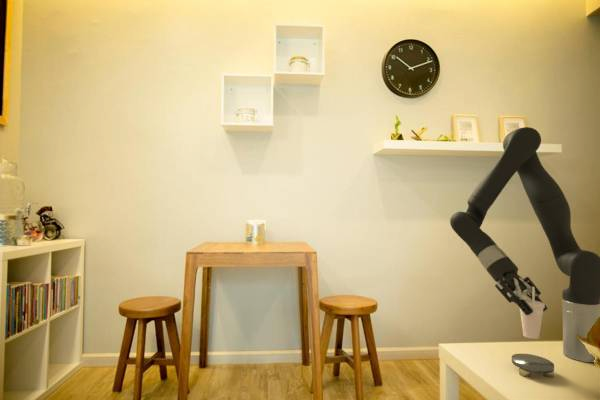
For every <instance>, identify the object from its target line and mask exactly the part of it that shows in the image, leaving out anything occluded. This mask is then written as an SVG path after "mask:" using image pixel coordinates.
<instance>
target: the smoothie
mask: <svg viewBox="0 0 600 400" xmlns="http://www.w3.org/2000/svg"><path fill="white" fill-rule="evenodd" d="M522 300H525V301H526V302H527V304H528V305H529V306H530V307H531V309H532V310H533V312H532V313H531V314H530V315H525V313H524V312H523V311H522V310H521V309H520V308H519V313H520V319H521V327H522V335H523V337H525V338H528V339H531V340H538V339H539V338H540V334H541V327H542V320H543V315H544V312H543V308H545V305H546V304H545V303H544V302H543V301H542V302H543V303H542V302H539V301H535V287H532V300H530V299H524V298H523V299H522Z"/></svg>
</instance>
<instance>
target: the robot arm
mask: <svg viewBox="0 0 600 400" xmlns="http://www.w3.org/2000/svg"><path fill="white" fill-rule="evenodd" d="M541 143H542V137H541V134H540V133H539V131H538V130H537V129H535V128H533V127H528V126H525V127H519V128H516V129H514V130H512V131H510V132H509V133H507V135H506V136H505V137H504V139H503V142H502V149H503V152H502V154H501V156H500V158H499V159H498V161H497V162H496V164H494V166H493V167H492V169H490V171H489V172H488V173H487V174H486V175H485V176H484V177H483V178H482V180H481V181H480V182H479V183H478V185H477V186H476V187H475V189H474V190H473V192H472V193H471V195H470V196H469V198H468V199H467V204H468V206H467V209H466V211H465V212H464V211H457V212H455V213H453V214H452V215H451V217H450V219H449V224H450V228H451V229H452V230H453V232H455V233H456V235H457V236H458V237H459V238H460V239H461V240H462V241H463V242H464V243H465V244H466V245H467V246H468V247H469V248H470V250H471V252H472V253H473V255H475V257H476V258H477V259H478V260H479V262H480V264H481V265H482V266H483V268H484V269H485V270H486V271H487V272H486V273H488V275H489V276H491V278H492V279H493V280H494V281H495V282H496V283H495V285H494V287H495V288H496V290H498V291H499V293H500V295H502V296H503V298H505V300H507V303H513V304H515V305H517V306H518V307H519V310H520V309H521V310H522V311H523V312H524V313H525V315H530V314H531V313H532V312H533V310H532V309H531V307H530V306H529V305H528V304H527V302H526V301H525V300H522V299H524V298H523V297H526V298H528V300H532V287H535V301H539V302H542V303H544V302H543V301H542V299H541V298H540V297H539V296H540V295H541V294H542V293H541V291H540V289H538V287H537V286H536V285H535V283H534V282H533V280H531V279H530V277H529V276H526V277H524V278H523V277H522V276H520V275H519V274H518V272H519V268H518V266H517V265H516V264H515V262H514V261H513V260H512V259H511V258H510V257H509V256H508V255H507V253H506V252H505V251H504V250H503V249H502V248H501V247H499V245H497V243H496V242H495V241H494V240H493V238H492V237H491V236H490V235H489V234H488V233H487V232H484V231H483V230H482V229H481V227H482V226H483V225H482V224H483V222H484V220H485V217H487V216H486V215H487V213H488V211H489V210H490V208H492V205H493V204H494V203H495V201H496V200H497V198H498V197H499V195H501V193H502V191H503V190H504V189H505V187H506V186H507V184H508V183H509V181H511V178H513V176H514V175H515V174H516V172H517V174H518V176H519V178H520V181H521V185H522V186H523V189H524V191H525V194H526V196H527V197H528V201H529V203H530V205H531V208H532V209H533V211H534V214H535V215H536V217H537V219H538V221H539V223H540V225H541V227H542V229H543V232H544V234H545V236H546V238H547V240H548V243H549V245H550V248H551V251H552V254H553V257H554V260H555V262H556V265H557V268H558V269H559V271H560V272H561V273H563V274H564V275H565V276H567V277H569V285H568V287H567V288H564V289H563V290H562V291H561V292H562V295H561V298H562V305H561V306H562V354H563V355H564V356H565V357H568V358H569V359H573V360H576V361H578V362H583V363H591V362H592V363H593V361H594V360H595V357H594V356H593V355H592V354H590V353H589V352H588V350H587V349H586V347H585V345H584V344H583V343H582V342H581V341H580V340H579V339H578V338H577V335H579V336H581V337H582V338H585V339H586V338H587V334H588V332H589V331H590V329H591V328H592V326H593V325H594V324H595V322H596V321H597V319H598V318H599V317H600V256H599V254H597V253H595V252H594V251H589V250H584V249H581V247H580V245H579V244H578V243H577V240H576V238H575V237H574V234H573V232H572V228H571V227H572V226H571V222H572V219H571V216H572V215H571V207H570V203H569V202H568V199H567V198H566V196H565V193H564V192H563V190H562V189H561V187H560V186H559V184H558V183H557V181H556V180H555V179H554V178H553V176H551V175H550V174H549V172H548V171H547V170H546V168H544V166H543V164H542V163H541V160H540V158H539V156H538V153H537V151H538V150H539V148H540V147H541ZM547 310H548V306H547V305H546V304H545V308H543V313H544V312H546V311H547Z"/></svg>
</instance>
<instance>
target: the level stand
mask: <svg viewBox="0 0 600 400" xmlns="http://www.w3.org/2000/svg"><path fill="white" fill-rule="evenodd" d="M511 363H512V364H513V365H514V366H515V367H517V368H519V369H518V371H519V373H518V374H519V375H520V376H521V377H524V378H531V373H535V374H542V376H543V377H545V378H549V379H554V378H555V364H554V362H553V361H551V360H549V359H547V358H545V357H542V356H538V355H536V354H531V353H515V354H513V355H511Z"/></svg>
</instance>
